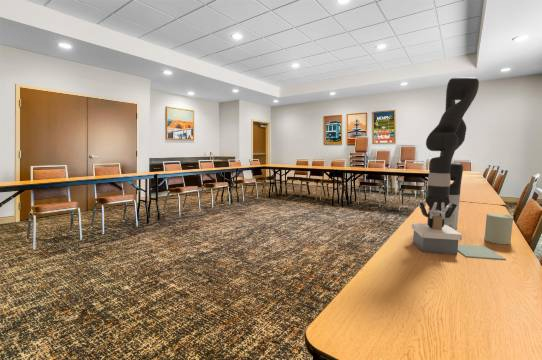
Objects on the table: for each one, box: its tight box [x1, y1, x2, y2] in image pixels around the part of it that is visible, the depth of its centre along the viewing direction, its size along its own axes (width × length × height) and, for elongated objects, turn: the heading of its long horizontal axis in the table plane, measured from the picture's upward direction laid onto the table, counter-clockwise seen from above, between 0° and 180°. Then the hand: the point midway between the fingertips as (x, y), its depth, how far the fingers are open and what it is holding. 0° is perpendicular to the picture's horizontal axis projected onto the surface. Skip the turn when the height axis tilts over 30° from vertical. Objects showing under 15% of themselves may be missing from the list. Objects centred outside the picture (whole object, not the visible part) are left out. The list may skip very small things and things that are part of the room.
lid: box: [411, 215, 463, 241], centre depth 112 cm, size 13×13×7 cm
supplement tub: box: [434, 205, 457, 231], centre depth 128 cm, size 10×10×15 cm
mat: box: [457, 243, 507, 261], centre depth 109 cm, size 14×13×1 cm
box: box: [412, 230, 459, 255], centre depth 113 cm, size 12×12×7 cm
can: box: [483, 212, 514, 245], centre depth 122 cm, size 9×9×12 cm
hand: (435, 227), depth 112 cm, fingers closed on lid, 3 cm apart
